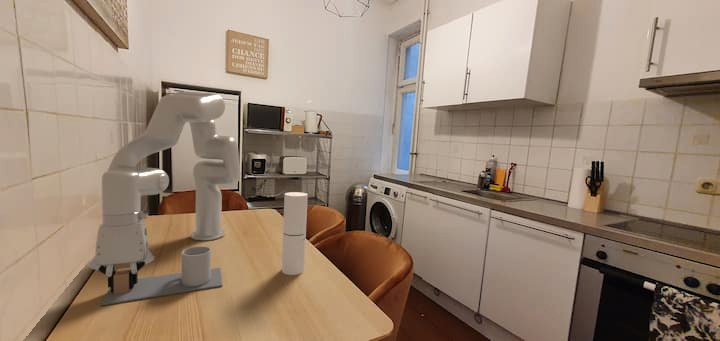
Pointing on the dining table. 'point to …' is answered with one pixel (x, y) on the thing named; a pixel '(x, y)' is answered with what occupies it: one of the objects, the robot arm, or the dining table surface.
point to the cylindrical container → (294, 233)
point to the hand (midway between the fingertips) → (123, 287)
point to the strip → (153, 286)
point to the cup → (196, 266)
